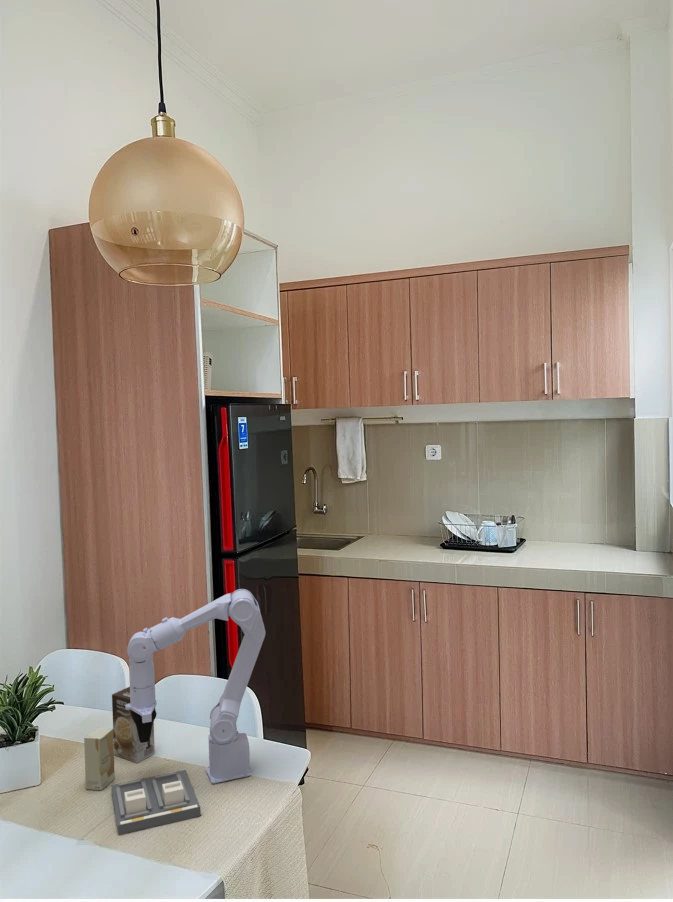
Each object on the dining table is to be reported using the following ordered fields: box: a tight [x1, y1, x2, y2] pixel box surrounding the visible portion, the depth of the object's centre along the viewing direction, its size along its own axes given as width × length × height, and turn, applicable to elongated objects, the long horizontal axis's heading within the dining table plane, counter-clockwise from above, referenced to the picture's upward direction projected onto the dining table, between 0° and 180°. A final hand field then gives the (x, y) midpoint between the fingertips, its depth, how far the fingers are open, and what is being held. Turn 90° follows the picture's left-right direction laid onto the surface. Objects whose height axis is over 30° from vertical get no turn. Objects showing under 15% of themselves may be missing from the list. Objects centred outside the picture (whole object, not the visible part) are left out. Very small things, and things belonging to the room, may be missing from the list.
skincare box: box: [83, 727, 116, 791], centre depth 167 cm, size 6×4×12 cm
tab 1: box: [124, 788, 146, 815], centre depth 152 cm, size 4×4×4 cm
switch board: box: [110, 769, 202, 836], centre depth 157 cm, size 17×18×3 cm
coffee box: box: [111, 686, 156, 764], centre depth 182 cm, size 9×6×16 cm
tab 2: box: [162, 781, 184, 807], centre depth 155 cm, size 4×4×4 cm
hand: (144, 741), depth 167 cm, fingers closed
